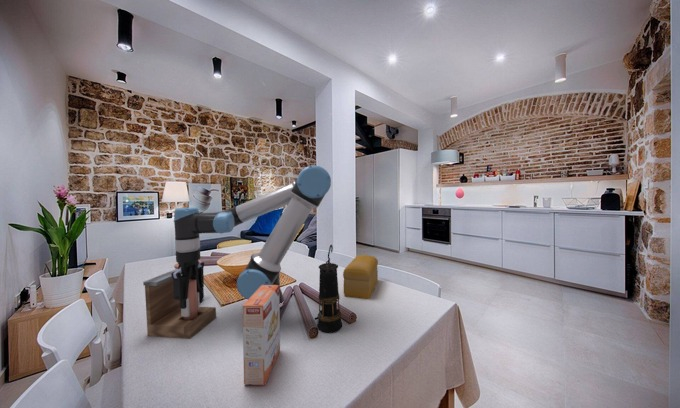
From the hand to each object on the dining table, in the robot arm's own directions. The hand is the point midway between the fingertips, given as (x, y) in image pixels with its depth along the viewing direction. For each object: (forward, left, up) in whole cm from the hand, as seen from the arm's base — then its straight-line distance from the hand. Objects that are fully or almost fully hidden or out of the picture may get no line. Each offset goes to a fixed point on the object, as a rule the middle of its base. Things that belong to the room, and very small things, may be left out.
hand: (190, 312), depth 88 cm
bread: (-62, -41, -6) cm, 74 cm away
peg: (0, 0, -4) cm, 4 cm away
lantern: (-51, -5, -5) cm, 52 cm away
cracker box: (-36, +17, -5) cm, 40 cm away
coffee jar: (+15, -18, -5) cm, 24 cm away
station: (+3, 0, -5) cm, 6 cm away
